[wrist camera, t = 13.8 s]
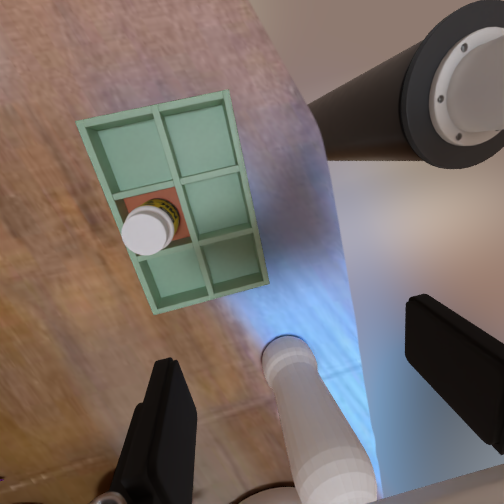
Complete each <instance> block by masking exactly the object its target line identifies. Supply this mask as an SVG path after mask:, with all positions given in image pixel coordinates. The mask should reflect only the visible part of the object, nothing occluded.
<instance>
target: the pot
mask: <svg viewBox="0 0 504 504" xmlns="http://www.w3.org/2000/svg"><path fill="white" fill-rule="evenodd" d="M239 504H302V502H301V500H300V497H299V495H298V493H297V490H296V488H294V487H279V488H273V489H268V490H265V491H261V492H259V493H256V494H254V495H252V496H250V497H248V498H246V499H245V500H243V501H241V502H240V503H239Z"/></svg>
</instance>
